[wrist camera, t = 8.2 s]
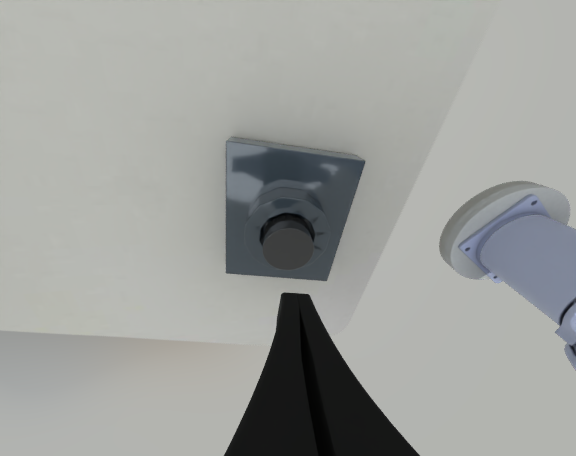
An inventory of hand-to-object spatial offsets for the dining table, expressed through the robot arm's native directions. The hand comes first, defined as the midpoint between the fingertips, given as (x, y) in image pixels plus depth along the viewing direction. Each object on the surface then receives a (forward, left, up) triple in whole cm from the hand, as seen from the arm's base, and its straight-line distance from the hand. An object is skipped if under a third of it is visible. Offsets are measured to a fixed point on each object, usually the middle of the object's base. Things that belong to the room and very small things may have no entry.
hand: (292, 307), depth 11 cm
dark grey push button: (0, 0, -7) cm, 7 cm away
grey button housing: (0, 0, -10) cm, 10 cm away
